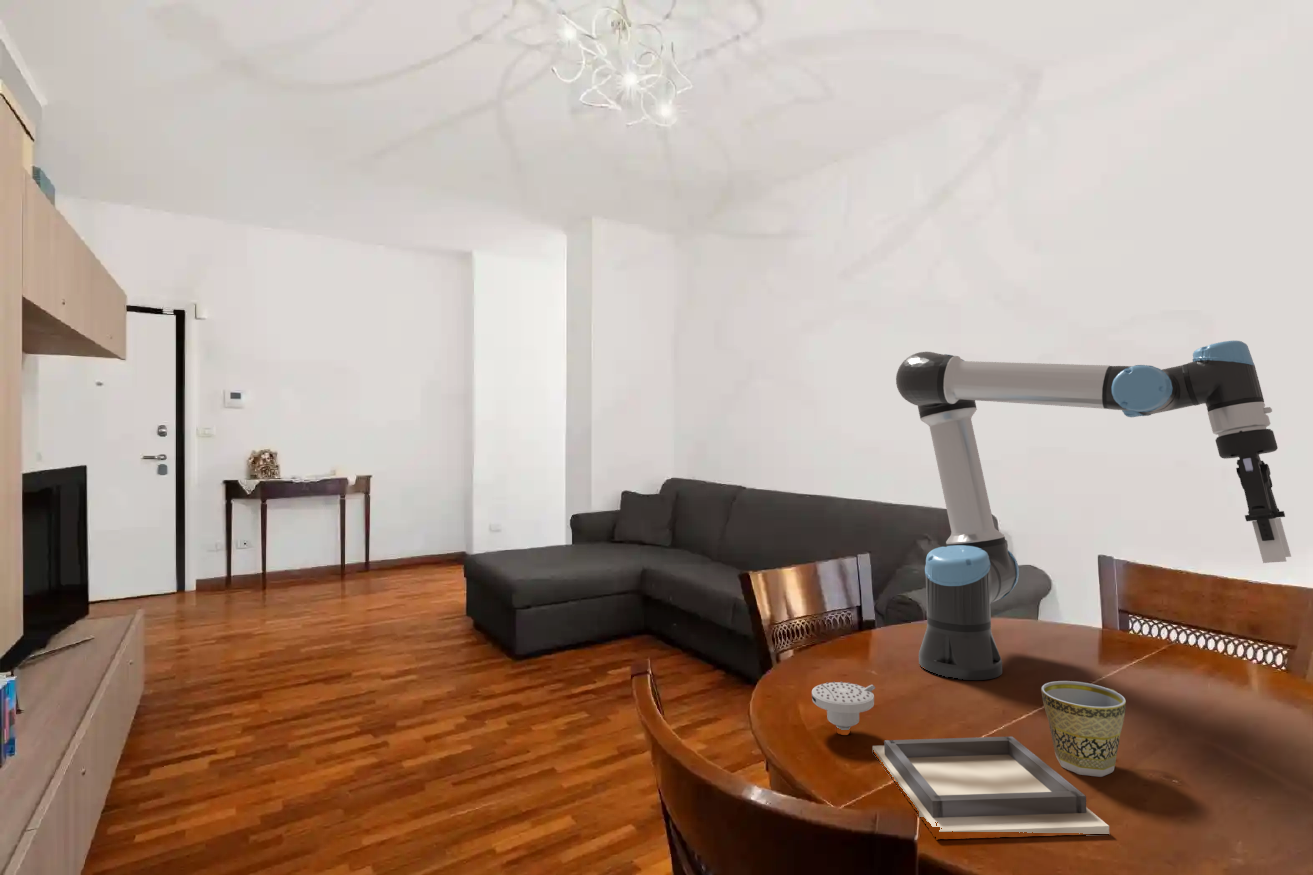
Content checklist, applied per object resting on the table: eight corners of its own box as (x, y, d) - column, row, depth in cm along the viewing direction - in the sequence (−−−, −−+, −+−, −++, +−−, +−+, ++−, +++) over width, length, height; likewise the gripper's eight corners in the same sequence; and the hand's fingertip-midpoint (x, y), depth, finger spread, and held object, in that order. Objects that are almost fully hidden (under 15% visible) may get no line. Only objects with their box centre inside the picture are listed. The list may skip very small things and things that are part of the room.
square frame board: (872, 752, 100) (872, 732, 100) (1007, 748, 100) (1007, 727, 100) (936, 840, 78) (935, 813, 78) (1109, 834, 78) (1108, 808, 78)
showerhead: (887, 695, 103) (822, 699, 102) (888, 743, 103) (824, 747, 102) (863, 674, 112) (803, 677, 111) (864, 718, 112) (805, 722, 111)
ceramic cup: (1100, 790, 88) (1098, 713, 88) (1027, 759, 97) (1025, 688, 97) (1155, 766, 94) (1153, 693, 94) (1082, 738, 103) (1080, 672, 103)
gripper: (1265, 420, 103) (1306, 562, 99) (1277, 432, 121) (1311, 553, 117) (1204, 431, 108) (1239, 566, 104) (1223, 441, 126) (1254, 557, 122)
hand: (1277, 559), depth 111 cm, fingers open, 13 cm apart
